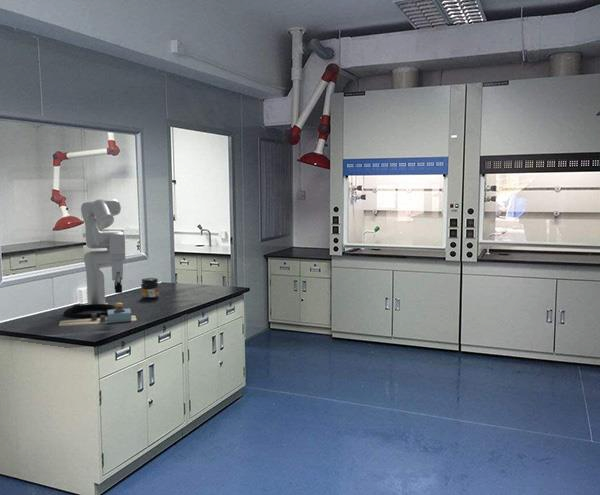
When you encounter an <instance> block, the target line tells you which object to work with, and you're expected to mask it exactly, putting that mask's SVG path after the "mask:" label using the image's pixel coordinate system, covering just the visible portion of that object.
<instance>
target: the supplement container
mask: <svg viewBox="0 0 600 495" xmlns="http://www.w3.org/2000/svg"><path fill="white" fill-rule="evenodd" d="M158 282H159V279H158V278H156V277H146V278H142V279H141V283H140V284H141V285H140V289H141V290H140V292H141V295H140V296H141V299H143V300H146V301H148V300H149V301H150V300H153V301H154V300H157V299H159V297H160V289H159V287H160V285H159V283H158Z"/></svg>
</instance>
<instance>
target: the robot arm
mask: <svg viewBox="0 0 600 495" xmlns="http://www.w3.org/2000/svg"><path fill="white" fill-rule="evenodd" d="M121 207H122V206H121V204H120V201H119V200H117V199H115V198H112V199H111V198H110V199H109V198H107V199H106V198H105V199H104V198H103V199H96V200H94V201H85V202H83V203H82V204H81V206H80V211H81V212H80V213H81V216H82V219H83V221H84V227H85V243H86V246H87V248H89V249H93V250H91V251H88V252H86V253H85V254H84V256H83V262H84V265H85V266H84V267H85V274H86V276H85V277H86V298H87V299H86V301H87V303H85V304H84V305H88V304H109V302H106V288H105V286H106V284H105V274H104V273H103V271H102V270H101V268H108V267H109V268H111V278H112V281H114V293H115V294H122V293H123V284H122V281H123V280H124V278H123V277H124V261H126V235H125V233H124V232H122V231H121V230H104V229H107V228H109V227H110V226H112V225H113V224H114V222H115V218H114V217H115V216H117V215H119V214H120V213H121V209H122V208H121ZM102 230H104V231H102ZM94 249H106V250H94Z"/></svg>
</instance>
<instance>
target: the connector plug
mask: <svg viewBox="0 0 600 495" xmlns="http://www.w3.org/2000/svg"><path fill="white" fill-rule="evenodd" d="M123 305H124V303H123V302H116V303H115V304H114V306H115V311H116V313H119V312H123V309H124V306H123Z"/></svg>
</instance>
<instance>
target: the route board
mask: <svg viewBox="0 0 600 495" xmlns="http://www.w3.org/2000/svg"><path fill="white" fill-rule="evenodd" d="M97 313H98V312H94V314H93V313H91V314H92V318H84V319H79V318H77V319H67V320H66V319H65V320H60V321H59V325H58V327H69V326H71V327H72V326H81V325H82V326H83V325H97V324H109V323H113V322H108V316H105V315H102V316H100V317H98V318H97ZM131 320H132V321H131V322H137V317H136V315H131ZM121 322H123V323H124V322H126V321H121ZM121 322H120V323H121Z"/></svg>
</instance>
